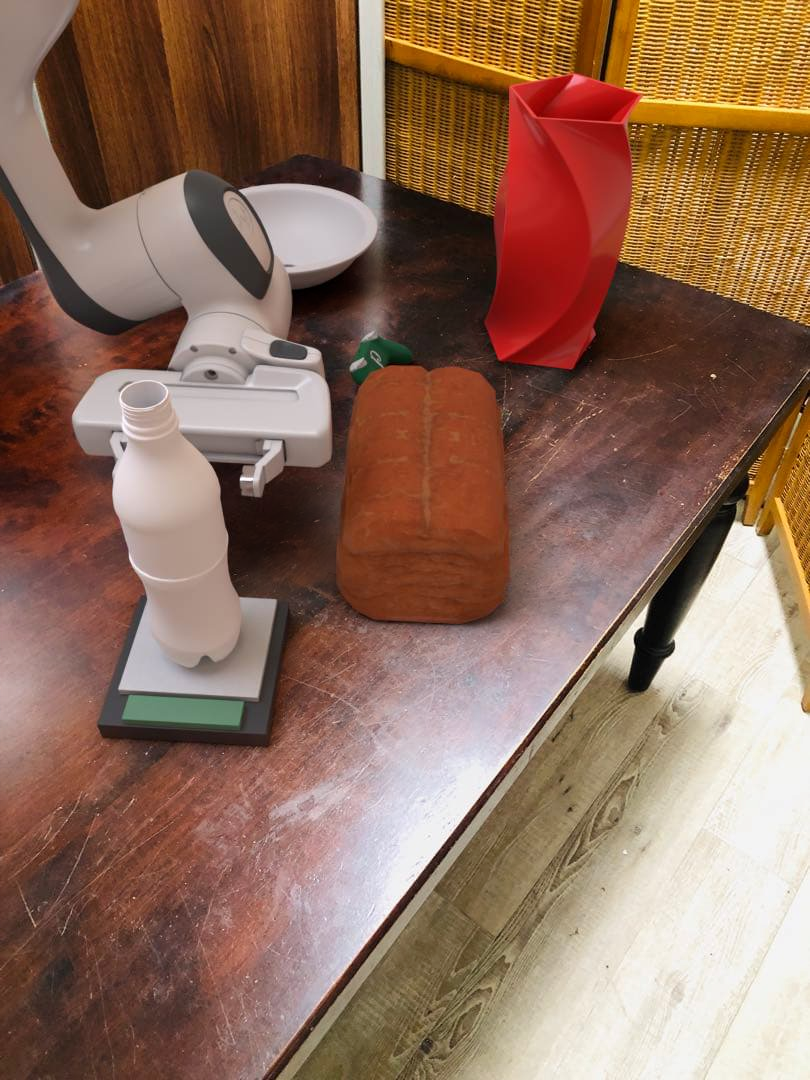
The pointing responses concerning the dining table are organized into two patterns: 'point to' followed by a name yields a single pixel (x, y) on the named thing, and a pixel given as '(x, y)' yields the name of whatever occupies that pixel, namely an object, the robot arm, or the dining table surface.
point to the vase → (559, 216)
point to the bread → (424, 498)
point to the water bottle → (174, 530)
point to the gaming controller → (377, 356)
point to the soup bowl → (313, 229)
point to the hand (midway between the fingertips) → (186, 487)
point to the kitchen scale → (199, 684)
